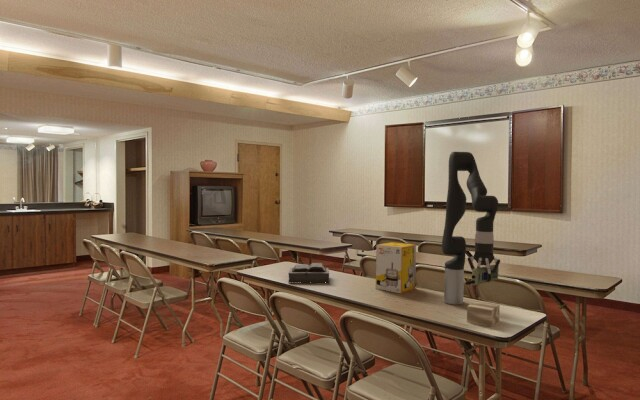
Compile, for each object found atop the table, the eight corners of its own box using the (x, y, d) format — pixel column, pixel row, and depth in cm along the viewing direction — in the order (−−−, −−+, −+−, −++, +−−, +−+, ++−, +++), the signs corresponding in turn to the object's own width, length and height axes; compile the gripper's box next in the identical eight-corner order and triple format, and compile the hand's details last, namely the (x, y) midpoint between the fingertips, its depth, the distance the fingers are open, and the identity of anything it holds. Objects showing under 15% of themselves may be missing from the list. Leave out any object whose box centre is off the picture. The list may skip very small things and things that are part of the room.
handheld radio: (499, 280, 201) (470, 287, 185) (492, 278, 204) (463, 285, 187) (500, 265, 201) (471, 271, 184) (493, 264, 204) (463, 269, 187)
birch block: (476, 316, 202) (476, 300, 202) (499, 320, 196) (499, 304, 196) (466, 322, 193) (467, 306, 192) (490, 327, 187) (491, 310, 186)
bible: (327, 286, 260) (327, 269, 260) (282, 283, 265) (282, 267, 265) (333, 278, 283) (334, 262, 282) (292, 275, 288) (292, 260, 287)
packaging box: (415, 288, 255) (416, 244, 255) (401, 293, 243) (402, 247, 242) (390, 284, 266) (391, 242, 265) (375, 288, 253) (376, 244, 252)
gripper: (502, 241, 194) (501, 281, 195) (467, 240, 200) (466, 278, 200) (501, 243, 187) (500, 284, 188) (466, 241, 193) (465, 281, 193)
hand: (483, 281), depth 194 cm, fingers closed on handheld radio, 3 cm apart
